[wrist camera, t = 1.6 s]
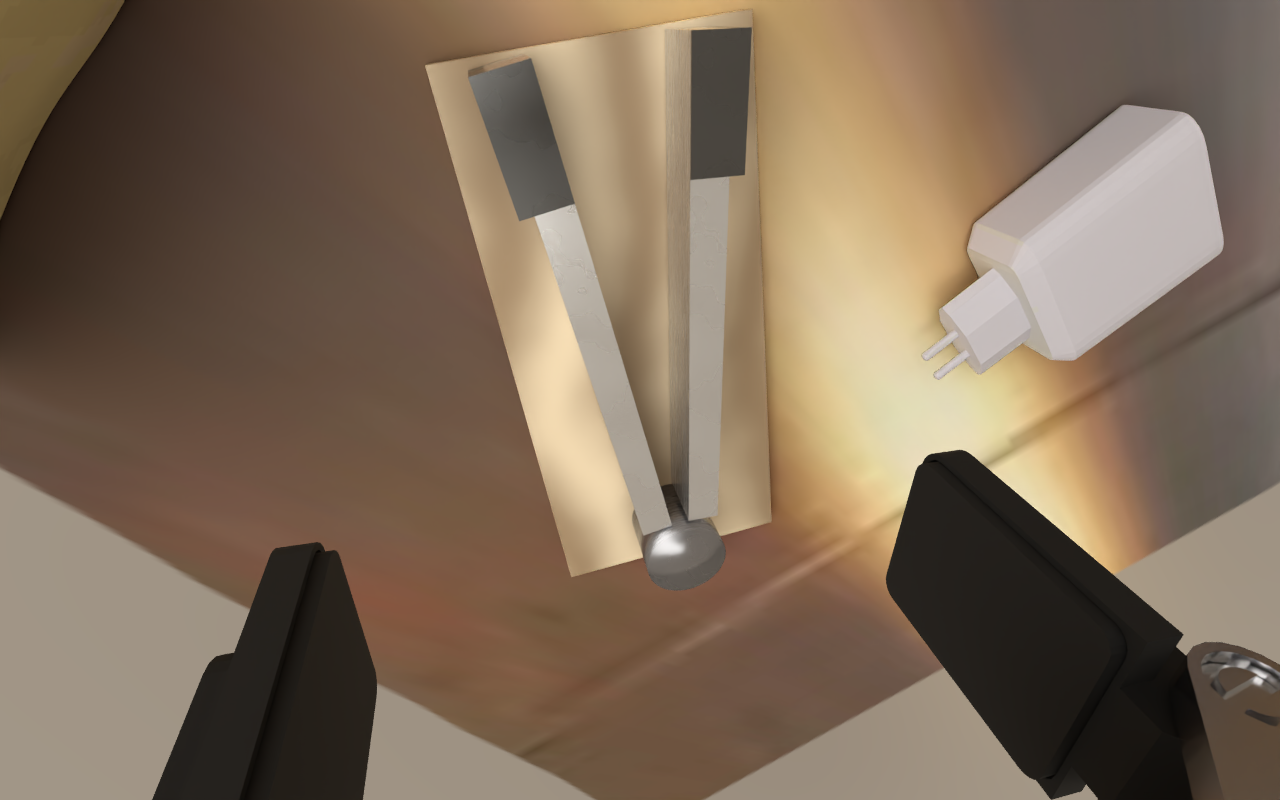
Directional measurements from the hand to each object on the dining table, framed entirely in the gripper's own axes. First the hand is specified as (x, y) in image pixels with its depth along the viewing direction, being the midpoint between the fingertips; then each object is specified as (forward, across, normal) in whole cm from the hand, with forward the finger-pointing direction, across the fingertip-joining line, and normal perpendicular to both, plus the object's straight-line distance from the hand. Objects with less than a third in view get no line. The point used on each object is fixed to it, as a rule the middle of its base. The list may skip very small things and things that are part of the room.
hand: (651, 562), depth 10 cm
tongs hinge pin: (+21, -7, +18) cm, 28 cm away
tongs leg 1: (+21, -2, +5) cm, 21 cm away
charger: (+22, -27, +4) cm, 35 cm away
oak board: (+22, -5, +7) cm, 23 cm away
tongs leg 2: (+21, -7, +4) cm, 22 cm away
